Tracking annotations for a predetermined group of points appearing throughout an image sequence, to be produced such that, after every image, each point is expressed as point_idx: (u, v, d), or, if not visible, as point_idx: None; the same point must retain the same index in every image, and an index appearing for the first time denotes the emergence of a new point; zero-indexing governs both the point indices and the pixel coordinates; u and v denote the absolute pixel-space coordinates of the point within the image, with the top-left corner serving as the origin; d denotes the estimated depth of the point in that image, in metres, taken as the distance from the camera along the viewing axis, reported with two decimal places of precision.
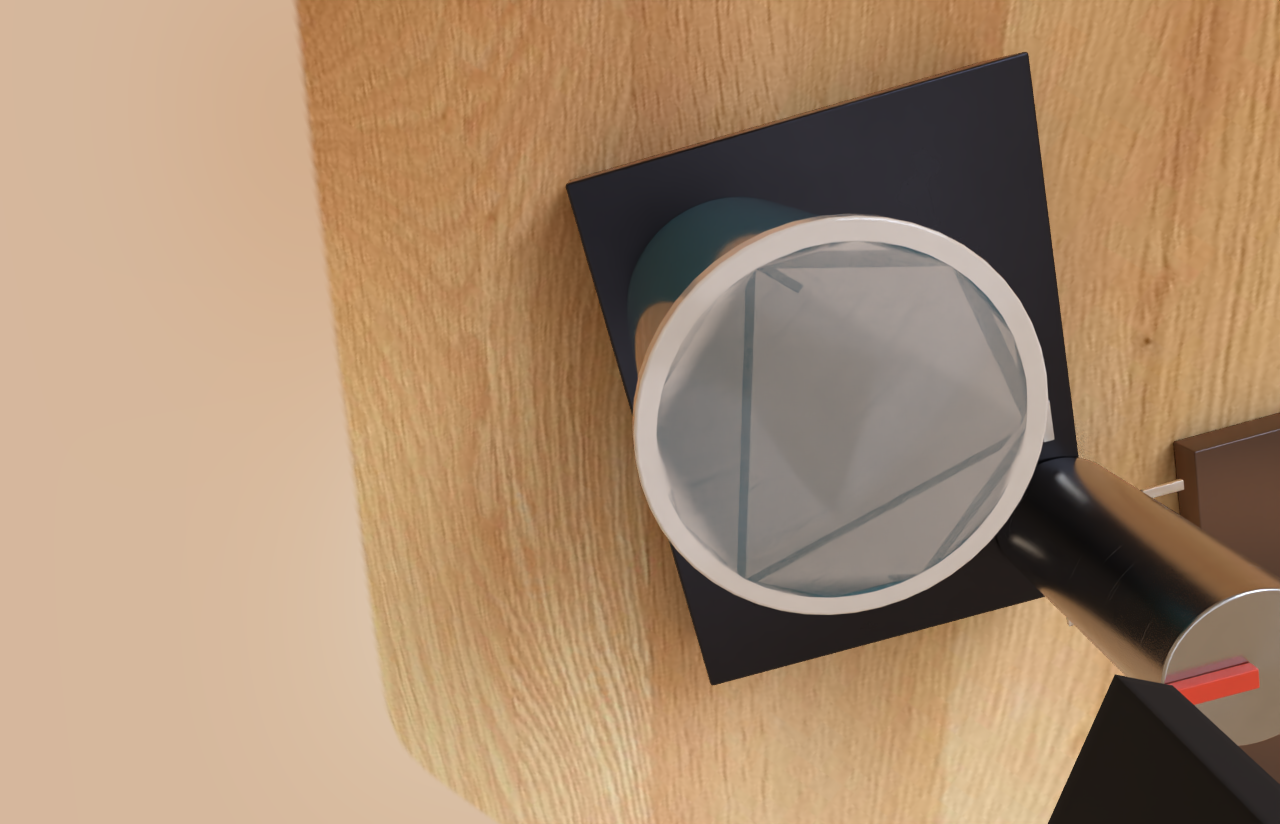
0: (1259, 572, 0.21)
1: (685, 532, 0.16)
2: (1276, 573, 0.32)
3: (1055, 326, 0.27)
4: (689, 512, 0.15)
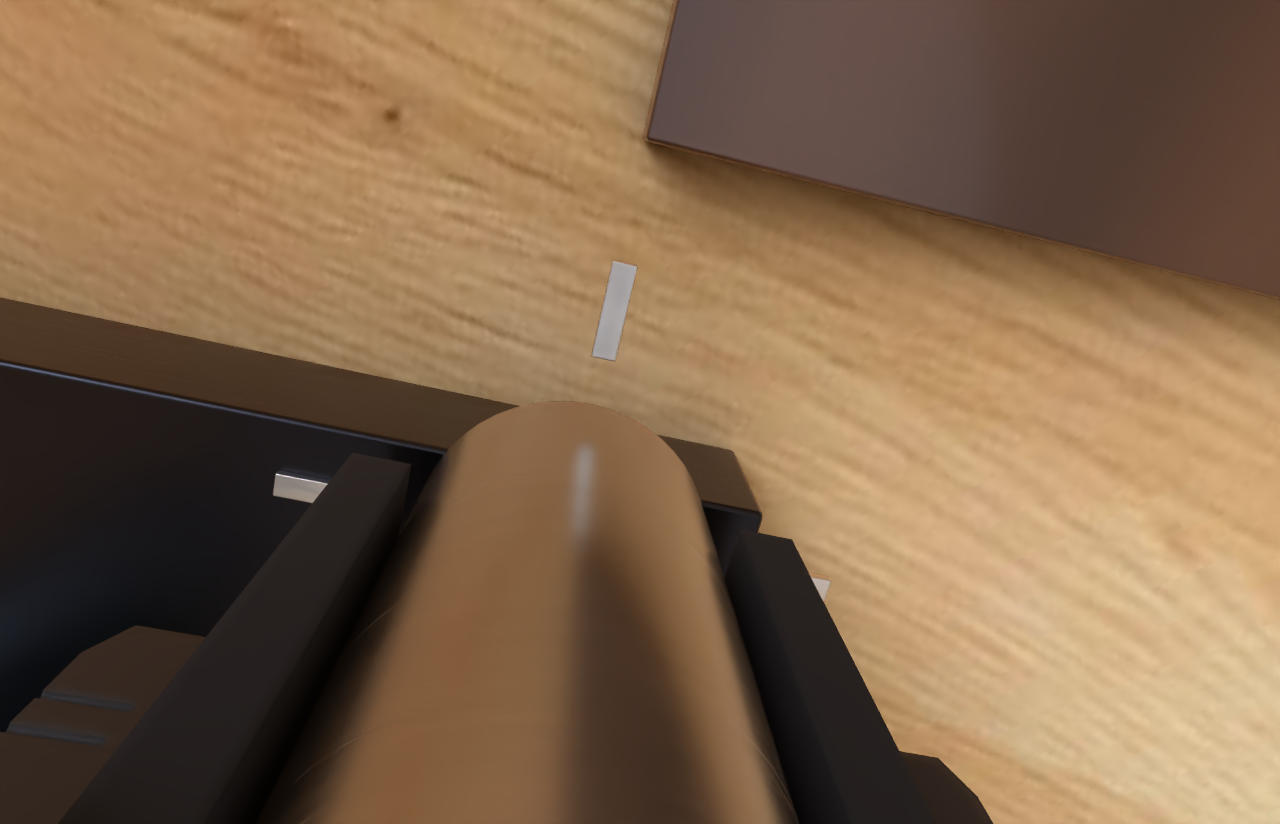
0: None
1: None
2: (1057, 52, 0.13)
3: (117, 399, 0.12)
4: None
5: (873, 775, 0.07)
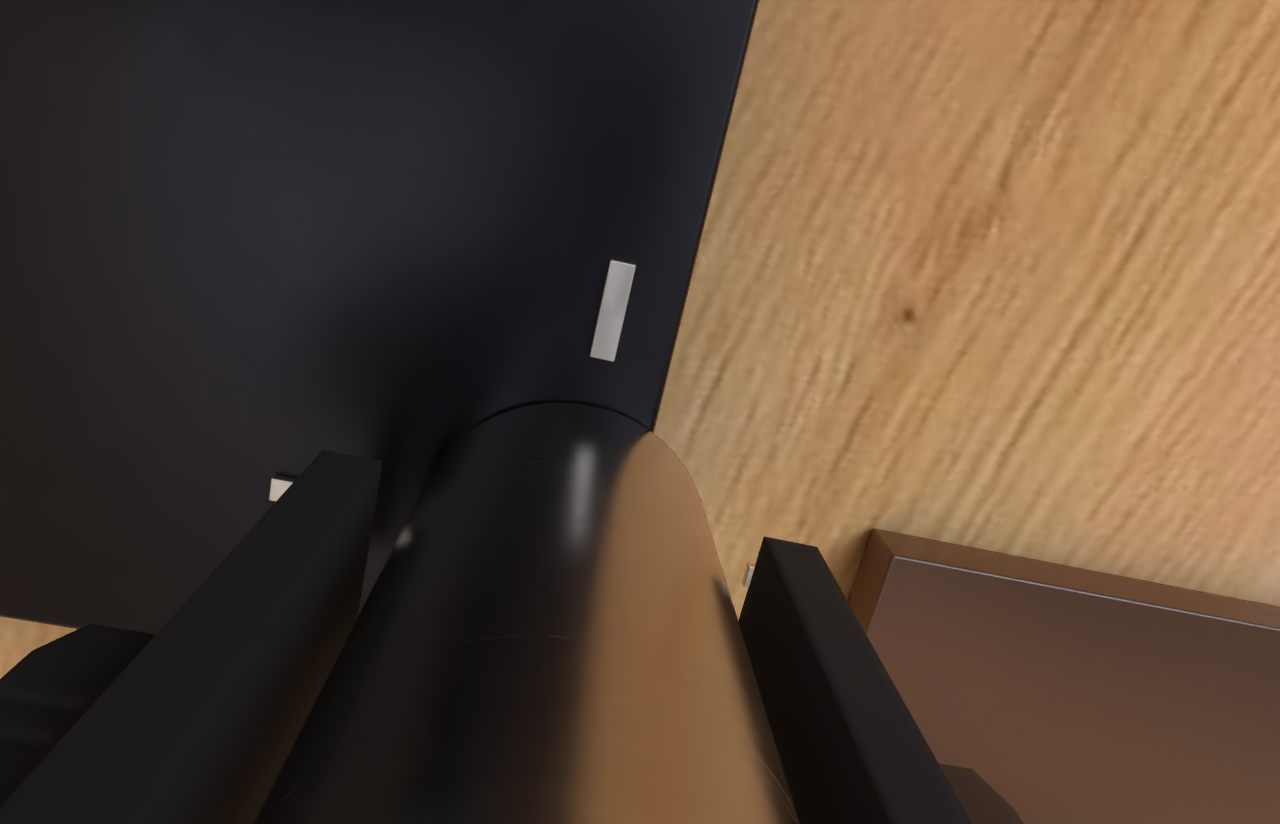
0: None
1: None
2: None
3: (717, 99, 0.11)
4: None
5: (915, 789, 0.07)
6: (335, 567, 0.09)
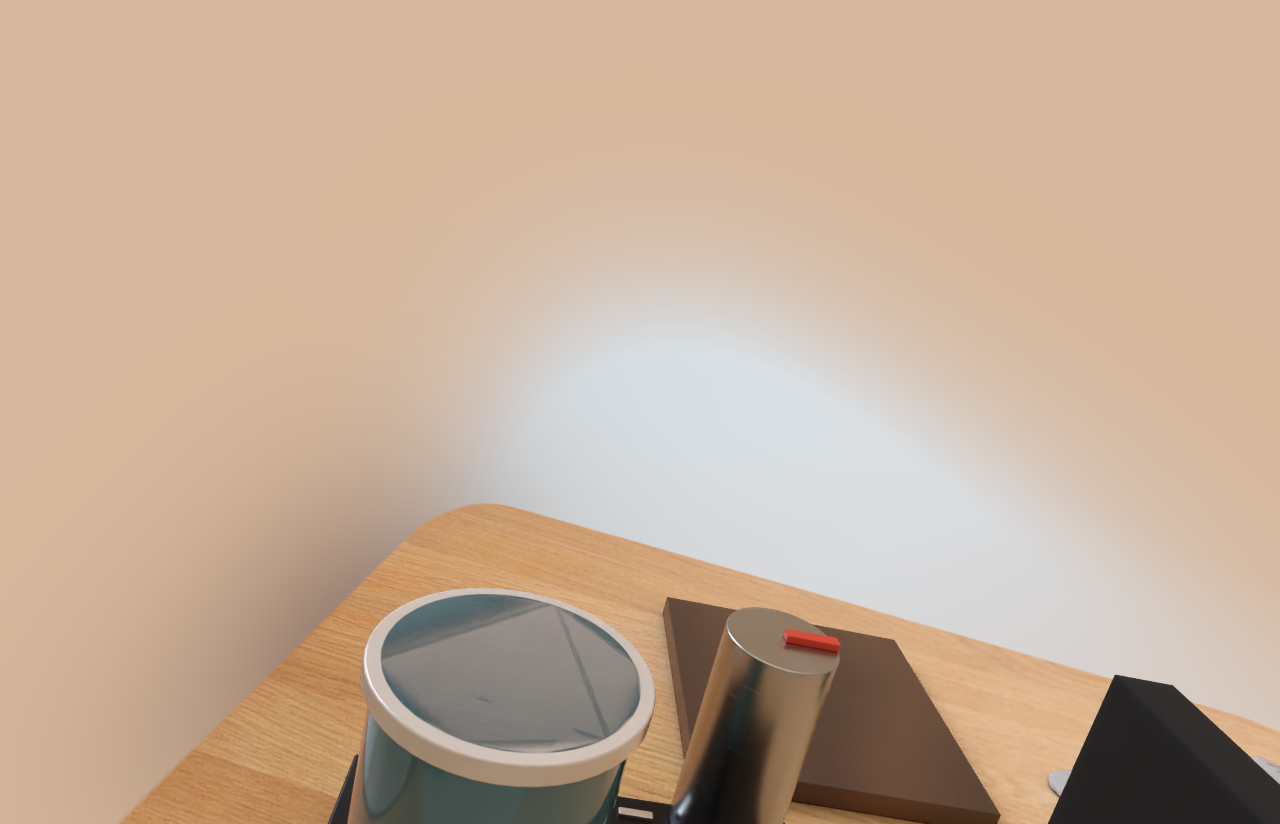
0: (762, 685, 0.30)
1: (552, 758, 0.19)
2: None
3: None
4: (535, 747, 0.19)
5: None
6: None
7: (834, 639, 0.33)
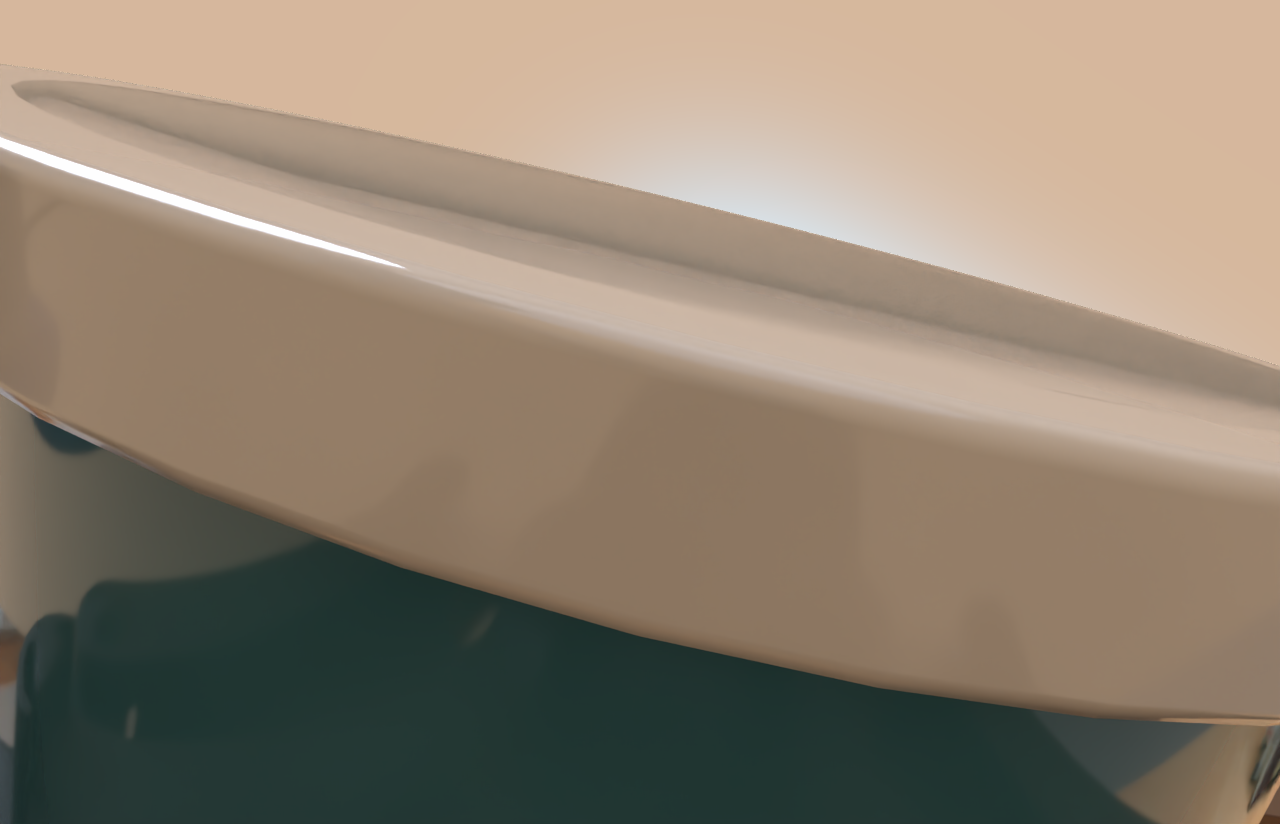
0: None
1: None
2: None
3: None
4: (1129, 394, 0.02)
5: None
6: None
7: None
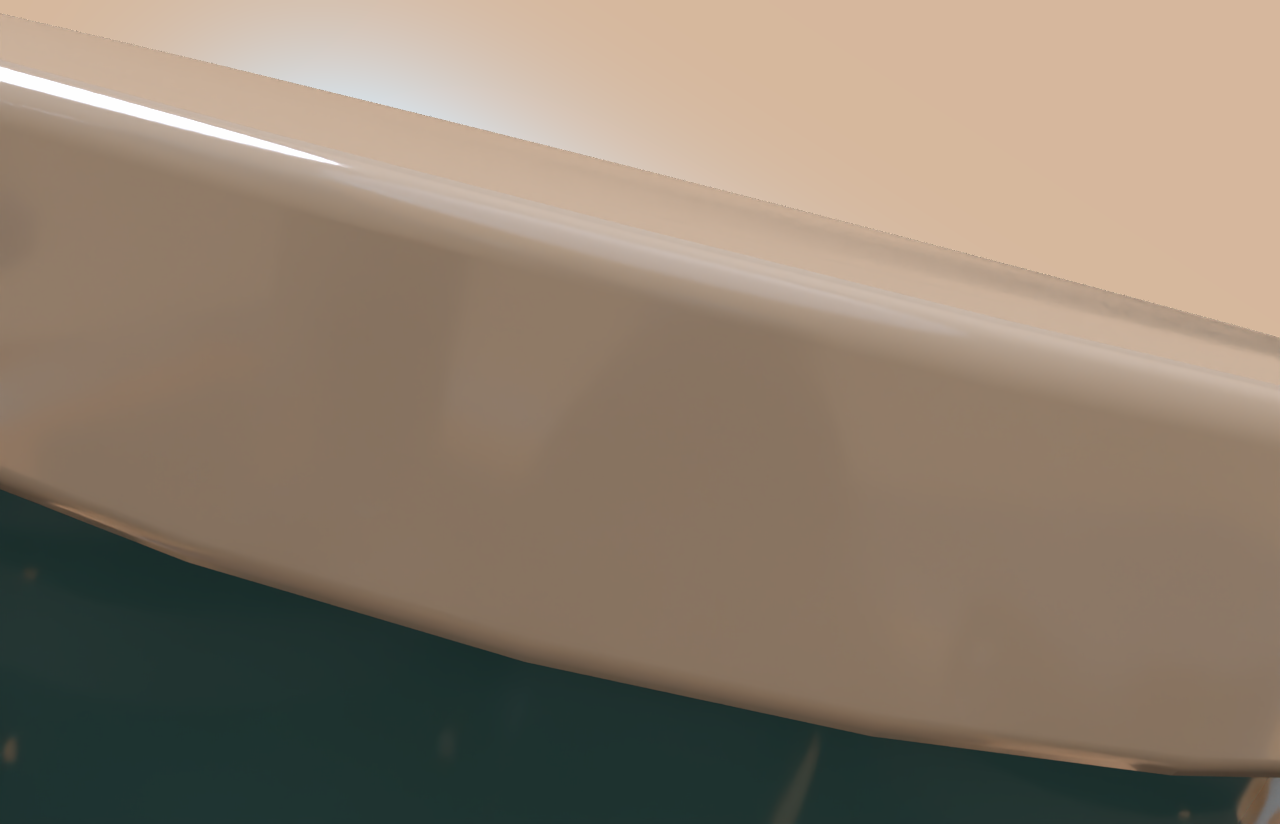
0: None
1: None
2: None
3: None
4: (1193, 343, 0.02)
5: None
6: None
7: None
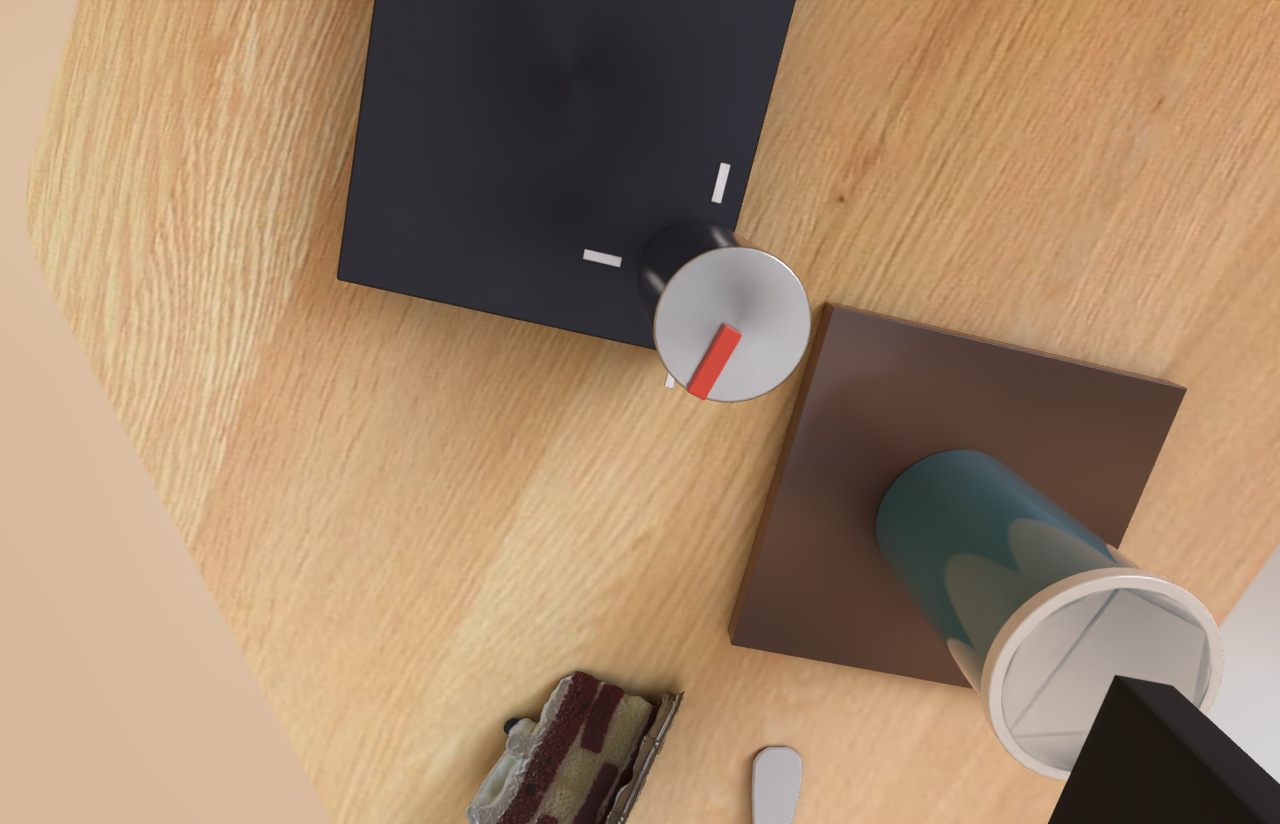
0: (684, 258, 0.24)
1: (997, 696, 0.26)
2: (853, 453, 0.37)
3: (762, 102, 0.30)
4: (1008, 687, 0.26)
5: None
6: None
7: (702, 393, 0.24)
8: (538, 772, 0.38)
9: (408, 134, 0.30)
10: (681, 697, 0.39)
